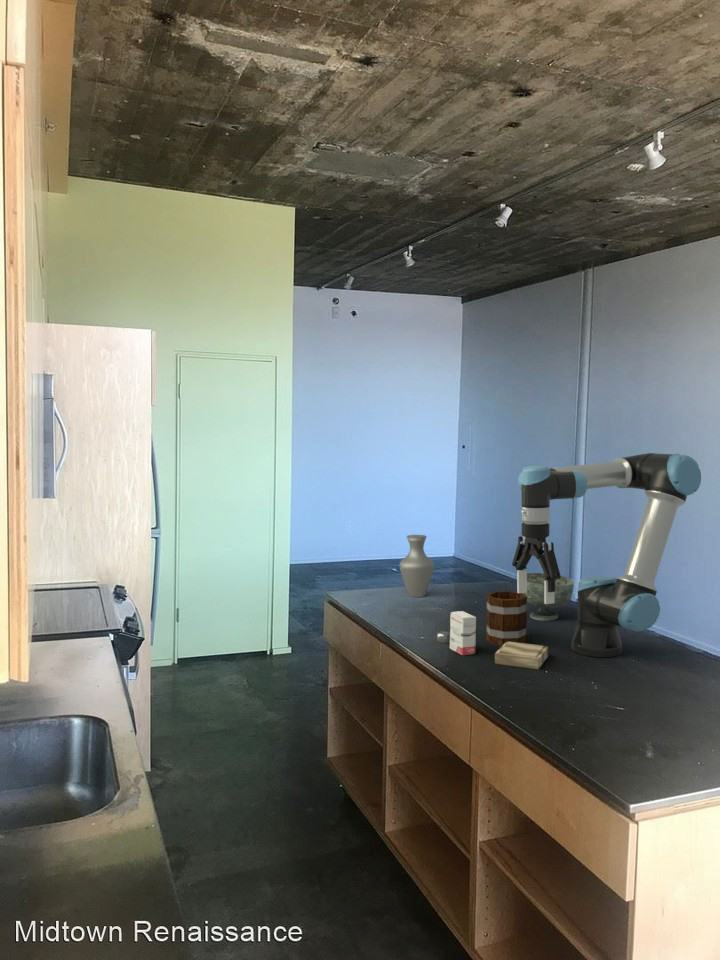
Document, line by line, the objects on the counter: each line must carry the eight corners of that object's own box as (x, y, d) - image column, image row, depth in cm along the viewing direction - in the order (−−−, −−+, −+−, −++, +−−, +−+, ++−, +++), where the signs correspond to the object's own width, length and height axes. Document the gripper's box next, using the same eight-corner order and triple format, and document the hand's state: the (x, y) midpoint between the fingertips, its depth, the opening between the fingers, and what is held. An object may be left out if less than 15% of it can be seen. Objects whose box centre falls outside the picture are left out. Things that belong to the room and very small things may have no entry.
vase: (417, 589, 320) (416, 532, 318) (441, 595, 309) (441, 536, 307) (392, 595, 311) (392, 535, 309) (416, 601, 300) (416, 539, 298)
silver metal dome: (439, 639, 248) (439, 630, 247) (451, 641, 246) (450, 632, 246) (435, 642, 244) (435, 633, 244) (446, 644, 242) (446, 635, 242)
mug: (524, 648, 237) (524, 601, 236) (482, 644, 242) (482, 598, 240) (531, 631, 256) (531, 588, 255) (491, 628, 260) (491, 586, 259)
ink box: (476, 654, 232) (476, 616, 231) (462, 656, 230) (462, 618, 229) (462, 646, 240) (462, 610, 239) (449, 648, 238) (448, 611, 237)
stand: (506, 651, 234) (506, 640, 234) (547, 656, 229) (548, 645, 228) (494, 663, 223) (494, 651, 222) (538, 669, 217) (538, 657, 217)
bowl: (576, 625, 263) (576, 583, 261) (520, 623, 266) (520, 582, 264) (569, 611, 282) (570, 572, 281) (517, 609, 285) (517, 571, 284)
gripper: (500, 517, 216) (500, 589, 218) (549, 529, 192) (549, 609, 194) (522, 516, 218) (522, 587, 220) (574, 527, 195) (573, 606, 197)
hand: (535, 598), depth 207 cm, fingers open, 13 cm apart
